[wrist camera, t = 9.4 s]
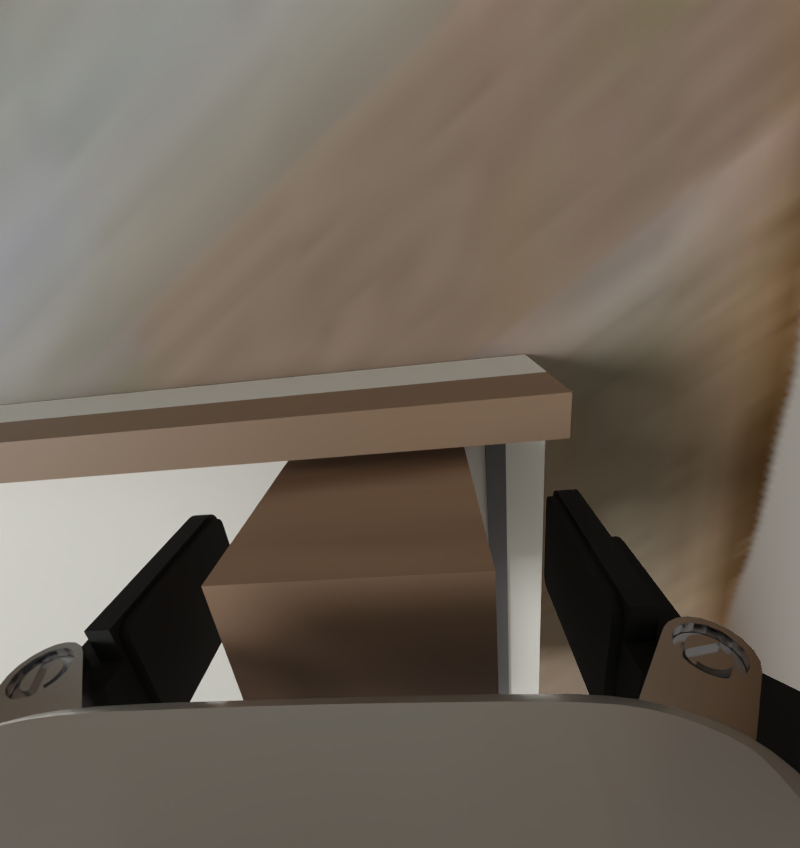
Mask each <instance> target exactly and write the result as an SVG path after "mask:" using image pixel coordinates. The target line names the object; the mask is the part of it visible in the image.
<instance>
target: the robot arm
mask: <svg viewBox="0 0 800 848" xmlns="http://www.w3.org/2000/svg"><path fill="white" fill-rule="evenodd" d="M229 545H230V544H229V541H228V538H227V535H226V532H225V529H224V525H223V523H222V521H221V520H220V519H217V517H216V516H215V515H213V514H208V515H194V516H191V517H190V518H189V519H188V520H187V521H186V522H185V523H184V524H183V525H182V526H181V528H180V529H179V530H178V531H177V532H176V533H175V534H174V535H173V536H172V537H171V538H170V539H169V540H168V541H167V543H166V544H165V545H164V546H163V547H162V548H161V549H160V550H159V551H158V552H157V553H156V554H155V555H154V557H153V558H152V559H151V560H150V561H149V562H148V563H147V564H146V565H145V566H144V567H143V568H142V569H141V570H140V572H139V573H138V574H137V575H136V576H135V577H134V578H133V579H132V580H131V581H130V582H129V583H128V584H127V586H126V587H125V588H124V589H123V590H122V591H121V592H120V593H119V594H118V595H117V596H116V597H115V598H114V599H113V601H112V602H111V603H110V604H109V605H108V606H107V607H106V608H105V609H104V610H103V611H102V612H101V613H100V614H99V616H98V617H97V618H96V619H95V620H94V621H93V622H92V623H91V624H90V625H89V626H88V627H87V628H86V630H85V631H84V633H85V635H86V636H87V638H88V640H87V641H86V642H85V643H84V645H83V646H81V645H79V644H78V643H76V642H66V643H61V644H56V645H54V646H51V647H49V648H46V649H44V650H42V651H40V652H38V653H37V654H35V655H33V656H31V657H30V658H28V659H27V660H26V661H24V662H23V663H21V664H20V665H19V666H17V667H16V668H15V669H14V670H13V671H12V672H11V673H10V674H9V675H8V676H7V677H6V678H5V679H4V681H3V682H2V683H1V684H0V848H800V691H798V690H796V689H794V688H792V687H789V686H788V685H786V684H784V683H781V682H779V681H777V680H775V679H773V678H771V677H769V676H767V675H765V674H763V673H762V667H761V662H760V660H759V658H758V656H757V655H756V653H755V651H754V650H753V649H752V648H751V647H750V646H749V645H748V644H747V643H746V642H745V641H744V640H743V639H742V638H741V637H739V636H738V635H736V634H735V633H734V632H732V631H731V630H729V629H727V628H725V627H723V626H721V625H719V624H717V623H715V622H712V621H708V620H705V619H702V618H696V617H688V616H687V617H680V615H679V614H678V613H677V611H676V610H675V609H674V607H673V606H672V605H671V603H670V602H669V601H668V599H667V598H666V597H665V595H664V594H663V593H662V591H661V590H660V589H659V587H658V586H657V585H656V583H655V582H654V581H653V579H652V578H651V577H650V575H649V574H648V573H647V571H646V570H645V569H644V567H643V566H642V565H641V563H640V562H639V561H638V560H637V558H636V557H635V556H634V554H633V553H632V552H631V550H630V549H629V548H628V546H627V545H626V544H625V542H624V541H623V540H622V539H621V538H619V537H617V536H615V537H611V536H610V534H609V533H608V531H607V530H606V529H605V527H604V526H603V525H602V523H601V522H600V520H599V519H598V518H597V516H596V515H595V513H594V512H593V511H592V509H591V508H590V507H589V505H588V504H587V502H586V501H585V500H584V498H583V497H582V495H581V494H580V493H579V491H578V490H576V489H574V490H559V491H554V493H553V496H550V497H547V501H546V534H545V568H544V577H545V583H546V587H547V590H548V592H549V595H550V597H551V600H552V602H553V605H554V607H555V610H556V612H557V615H558V617H559V620H560V622H561V625H562V627H563V630H564V632H565V635H566V637H567V640H568V642H569V645H570V647H571V650H572V652H573V655H574V657H575V660H576V662H577V665H578V667H579V670H580V672H581V675H582V677H583V680H584V682H585V685H586V687H587V690H588V692H589V695H582V694H475V695H427V696H380V697H341V698H304V699H268V700H237V701H207V702H190V701H191V699H192V697H193V695H194V693H195V692H196V690H197V688H198V686H199V684H200V682H201V680H202V678H203V677H204V675H205V673H206V671H207V669H208V667H209V665H210V663H211V661H212V660H213V658H214V656H215V654H216V652H217V650H218V648H219V646H220V645H221V643H222V641H221V638H220V636H219V633H218V630H217V628H216V625H215V622H214V620H213V617H212V614H211V611H210V609H209V606H208V603H207V601H206V598H205V595H204V593H203V590H202V587H201V586H202V584H203V583H204V581H205V580H206V579H207V577H208V576H209V574H210V573H211V571H212V570H213V568H214V567H215V566H216V564H217V563H218V561H219V560H220V558H221V557H222V555H223V554H224V553H225V551H226V550H227V548H228V547H229Z"/></svg>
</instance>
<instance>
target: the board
mask: <svg viewBox="0 0 800 848" xmlns="http://www.w3.org/2000/svg"><path fill="white" fill-rule="evenodd" d="M571 410H572V391H570V390H569V389H568V388H567V387H565V386H564V385H563V384H562V383H560V382H559V381H558V380H557V379H555V378H554V377H553V376H551V375H550V374H549V373H548V372H546V371H545V370H544V369H543V368H541V367H540V366H539V365H538V364H536V363H535V362H534V361H533V360H531V359H530V358H529V357H528V356H526V355H525V354H524V355H514V356H503V357H493V358H483V359H472V360H462V361H452V362H442V363H431V364H421V365H411V366H400V367H390V368H380V369H369V370H359V371H349V372H338V373H328V374H318V375H308V376H297V377H287V378H277V379H266V380H256V381H246V382H235V383H225V384H215V385H205V386H194V387H184V388H174V389H163V390H153V391H143V392H132V393H122V394H112V395H102V396H91V397H81V398H71V399H60V400H50V401H40V402H29V403H19V404H9V405H0V684H1V683H2V682H3V681H4V679H5V678H6V677H7V676H8V675H9V674H10V673H11V672H12V671H13V670H14V669H15V668H16V667H17V666H19V665H20V664H21V663H23V662H24V661H26V660H27V659H28V658H30V657H31V656H33V655H35V654H37V653H38V652H40V651H42V650H44V649H46V648H49V647H51V646H54V645H56V644H61V643H66V642H76V643H78V644H79V645H81V646H83V645H84V643H85V642H86V641H87V640H88V638H87V636H86V635H85V633H84V631H85V630H86V628H87V627H88V626H89V625H90V624H91V623H92V622H93V621H94V620H95V619H96V618H97V617H98V616H99V614H100V613H101V612H102V611H103V610H104V609H105V608H106V607H107V606H108V605H109V604H110V603H111V602H112V601H113V599H114V598H115V597H116V596H117V595H118V594H119V593H120V592H121V591H122V590H123V589H124V588H125V587H126V586H127V584H128V583H129V582H130V581H131V580H132V579H133V578H134V577H135V576H136V575H137V574H138V573H139V572H140V570H141V569H142V568H143V567H144V566H145V565H146V564H147V563H148V562H149V561H150V560H151V559H152V558H153V557H154V555H155V554H156V553H157V552H158V551H159V550H160V549H161V548H162V547H163V546H164V545H165V544H166V543H167V541H168V540H169V539H170V538H171V537H172V536H173V535H174V534H175V533H176V532H177V531H178V530H179V529H180V528H181V526H182V525H183V524H184V523H185V522H186V521H187V520H188V519H189V518H190V517H191V516H194V515H208V514H213V515H215V516H216V517H217V519H220V520H221V521H222V523H223V525H224V529H225V532H226V535H227V538H228V541H229V544H231V542H232V541H233V540H234V538H235V537H236V535H237V534H238V532H239V531H240V530H241V528H242V527H243V525H244V524H245V522H246V521H247V519H248V518H249V517H250V515H251V514H252V512H253V511H254V509H255V508H256V506H257V505H258V504H259V502H260V501H261V499H262V498H263V496H264V495H265V493H266V492H267V491H268V489H269V488H270V486H271V485H272V483H273V482H274V480H275V479H276V478H277V476H278V475H279V473H280V472H281V470H282V469H283V467H284V466H285V465H286V463H287V462H288V461H291V460H303V459H316V458H329V457H342V456H354V455H367V454H380V453H392V452H405V451H418V450H430V449H443V448H456V447H464V448H465V452H466V456H467V460H468V464H469V468H470V472H471V476H472V480H473V484H474V488H475V492H476V496H477V500H478V504H479V508H480V512H481V516H482V520H483V524H484V528H485V532H486V536H487V540H488V543H489V547H490V551H491V555H492V559H493V563H494V567H495V573H496V611H497V649H498V686H499V694H539V656H540V618H541V579H542V541H543V502H544V464H545V440H557V439H570V429H571ZM237 700H243V698H242V695H241V692H240V690H239V687H238V684H237V682H236V679H235V676H234V673H233V671H232V668H231V665H230V663H229V660H228V657H227V655H226V652H225V649H224V647H223V644H222V643H221V645H220V646H219V648H218V650H217V652H216V654H215V656H214V658H213V660H212V661H211V663H210V665H209V667H208V669H207V671H206V673H205V675H204V677H203V678H202V680H201V682H200V684H199V686H198V688H197V690H196V692H195V693H194V695H193V697H192V699H191V701H190V702H207V701H237Z"/></svg>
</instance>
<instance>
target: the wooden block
mask: <svg viewBox="0 0 800 848" xmlns="http://www.w3.org/2000/svg"><path fill="white" fill-rule="evenodd" d="M201 587H202V590H203V593H204V595H205V598H206V601H207V603H208V606H209V609H210V611H211V614H212V617H213V620H214V622H215V625H216V628H217V630H218V633H219V636H220V638H221V641H222V644H223V647H224V649H225V652H226V655H227V657H228V660H229V663H230V665H231V668H232V671H233V673H234V676H235V679H236V682H237V684H238V687H239V690H240V692H241V695H242V698H243V700H268V699H304V698H341V697H380V696H427V695H475V694H499V686H498V649H497V611H496V573H495V567H494V563H493V559H492V555H491V551H490V547H489V543H488V540H487V536H486V532H485V528H484V524H483V520H482V516H481V512H480V508H479V504H478V500H477V496H476V492H475V488H474V484H473V480H472V476H471V472H470V468H469V464H468V460H467V456H466V452H465V448H464V447H456V448H443V449H430V450H418V451H405V452H392V453H380V454H367V455H354V456H342V457H329V458H316V459H303V460H291V461H288V462H287V463H286V465H285V466H284V467H283V469H282V470H281V472H280V473H279V475H278V476H277V478H276V479H275V480H274V482H273V483H272V485H271V486H270V488H269V489H268V491H267V492H266V493H265V495H264V496H263V498H262V499H261V501H260V502H259V504H258V505H257V506H256V508H255V509H254V511H253V512H252V514H251V515H250V517H249V518H248V519H247V521H246V522H245V524H244V525H243V527H242V528H241V530H240V531H239V532H238V534H237V535H236V537H235V538H234V540H233V541H232V542H231V544H230V545H229V547H228V548H227V550H226V551H225V553H224V554H223V555H222V557H221V558H220V560H219V561H218V563H217V564H216V566H215V567H214V568H213V570H212V571H211V573H210V574H209V576H208V577H207V579H206V580H205V581H204V583H203V584H202V586H201Z"/></svg>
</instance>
